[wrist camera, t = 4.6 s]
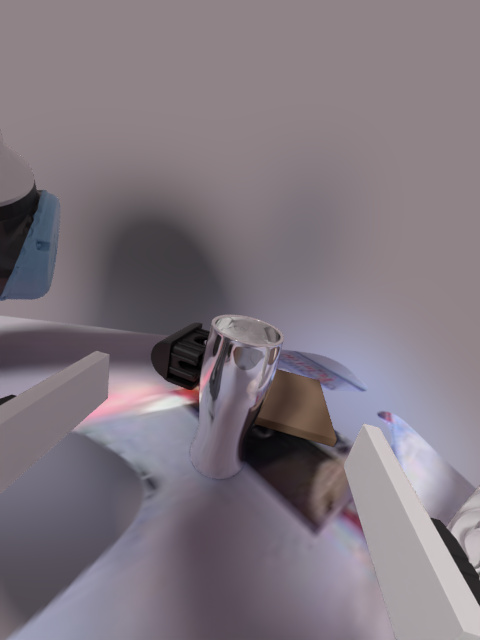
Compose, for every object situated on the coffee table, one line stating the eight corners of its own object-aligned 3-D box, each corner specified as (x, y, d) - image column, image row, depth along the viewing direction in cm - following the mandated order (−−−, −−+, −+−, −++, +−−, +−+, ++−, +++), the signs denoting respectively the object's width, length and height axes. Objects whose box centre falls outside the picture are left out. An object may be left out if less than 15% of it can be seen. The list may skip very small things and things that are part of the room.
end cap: (182, 351, 46) (187, 318, 44) (216, 363, 44) (223, 330, 42) (147, 376, 37) (152, 335, 34) (189, 393, 35) (197, 351, 33)
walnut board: (228, 416, 32) (230, 408, 32) (242, 365, 45) (244, 360, 45) (333, 446, 31) (336, 439, 31) (317, 386, 44) (319, 380, 44)
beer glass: (257, 447, 28) (294, 331, 24) (231, 499, 22) (273, 356, 17) (207, 420, 31) (231, 309, 26) (170, 460, 25) (193, 324, 20)
